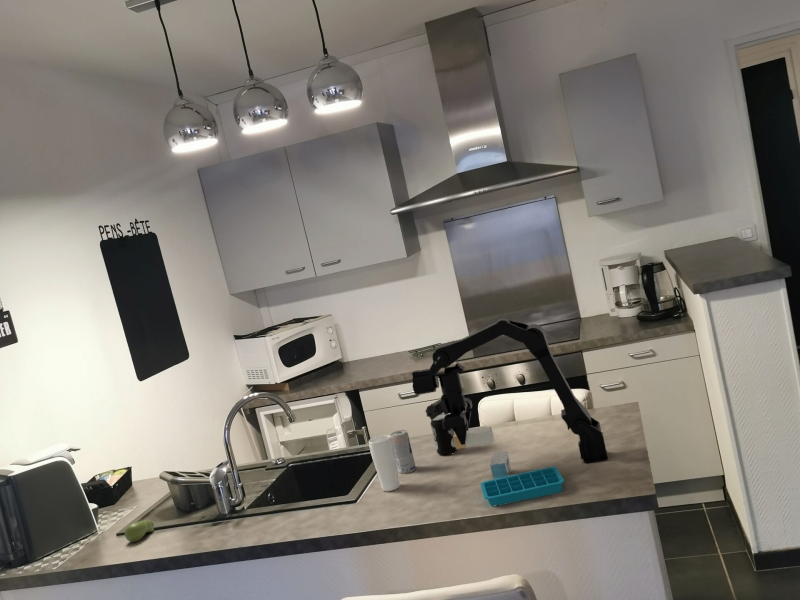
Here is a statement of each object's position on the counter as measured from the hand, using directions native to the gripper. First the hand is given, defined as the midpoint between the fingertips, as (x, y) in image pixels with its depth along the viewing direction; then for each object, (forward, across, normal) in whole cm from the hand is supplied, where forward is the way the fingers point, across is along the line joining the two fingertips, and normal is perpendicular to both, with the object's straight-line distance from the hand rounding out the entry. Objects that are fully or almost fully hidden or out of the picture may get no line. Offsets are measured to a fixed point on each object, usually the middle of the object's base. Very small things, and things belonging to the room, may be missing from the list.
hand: (464, 441), depth 199 cm
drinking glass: (+10, +2, -24) cm, 26 cm away
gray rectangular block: (+10, +5, +9) cm, 14 cm away
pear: (+10, +12, -100) cm, 101 cm away
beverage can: (+10, -22, -10) cm, 27 cm away
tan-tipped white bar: (+1, 0, +3) cm, 3 cm away
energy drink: (+10, -12, -21) cm, 26 cm away
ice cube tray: (+10, +17, +15) cm, 25 cm away
